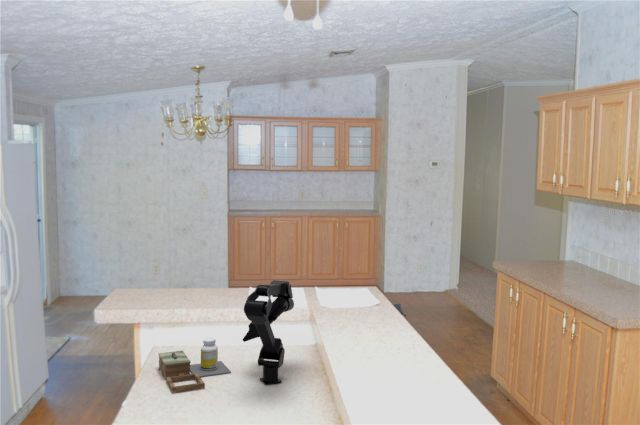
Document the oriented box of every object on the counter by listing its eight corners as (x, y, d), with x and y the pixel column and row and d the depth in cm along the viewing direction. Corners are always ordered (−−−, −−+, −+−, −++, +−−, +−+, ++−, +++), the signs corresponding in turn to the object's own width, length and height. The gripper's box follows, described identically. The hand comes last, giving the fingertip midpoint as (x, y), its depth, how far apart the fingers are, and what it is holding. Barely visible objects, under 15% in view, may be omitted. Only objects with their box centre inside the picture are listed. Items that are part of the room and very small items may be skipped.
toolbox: (204, 388, 194) (204, 369, 194) (172, 393, 189) (172, 373, 189) (187, 364, 219) (187, 347, 219) (158, 368, 214) (158, 350, 214)
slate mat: (231, 373, 211) (231, 371, 211) (195, 378, 205) (195, 376, 205) (221, 362, 223) (221, 360, 223) (186, 366, 217) (186, 365, 217)
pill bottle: (208, 364, 218) (208, 336, 218) (220, 367, 215) (221, 338, 214) (197, 369, 213) (197, 340, 212) (209, 372, 209) (210, 342, 209)
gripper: (264, 290, 220) (238, 316, 222) (254, 301, 202) (225, 328, 204) (283, 310, 220) (256, 336, 222) (275, 322, 202) (245, 350, 203)
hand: (246, 337), depth 213 cm, fingers open, 9 cm apart
